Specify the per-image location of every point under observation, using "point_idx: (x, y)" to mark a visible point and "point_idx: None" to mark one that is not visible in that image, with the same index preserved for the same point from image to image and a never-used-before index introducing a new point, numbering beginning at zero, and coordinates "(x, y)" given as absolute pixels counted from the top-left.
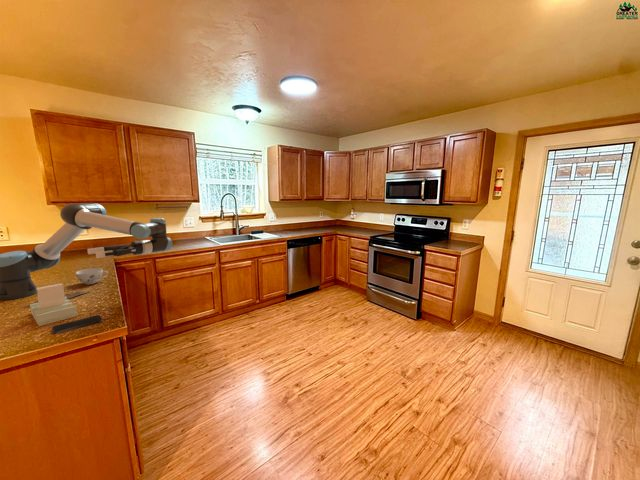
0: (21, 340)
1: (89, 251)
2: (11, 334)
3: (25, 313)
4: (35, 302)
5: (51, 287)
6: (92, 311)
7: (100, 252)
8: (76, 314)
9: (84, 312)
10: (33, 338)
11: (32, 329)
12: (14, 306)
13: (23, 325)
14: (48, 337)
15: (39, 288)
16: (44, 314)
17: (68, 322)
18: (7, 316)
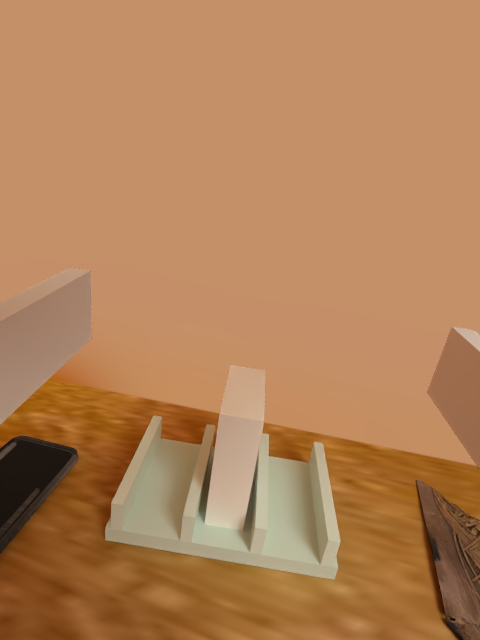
0: (83, 403)
1: (448, 368)
2: (157, 407)
3: (333, 467)
4: (466, 518)
5: (225, 390)
6: (86, 609)
7: (43, 286)
8: (106, 530)
9: (119, 578)
10: (60, 415)
11: (138, 433)
12: (456, 476)
13: (203, 434)
14: (15, 429)
15: (243, 370)
16: (148, 429)
17: (51, 483)
18: (341, 440)
